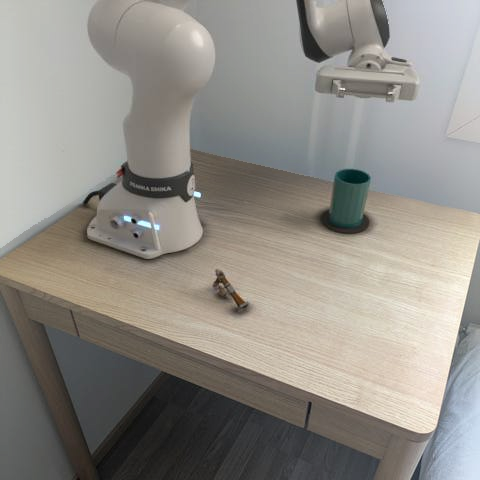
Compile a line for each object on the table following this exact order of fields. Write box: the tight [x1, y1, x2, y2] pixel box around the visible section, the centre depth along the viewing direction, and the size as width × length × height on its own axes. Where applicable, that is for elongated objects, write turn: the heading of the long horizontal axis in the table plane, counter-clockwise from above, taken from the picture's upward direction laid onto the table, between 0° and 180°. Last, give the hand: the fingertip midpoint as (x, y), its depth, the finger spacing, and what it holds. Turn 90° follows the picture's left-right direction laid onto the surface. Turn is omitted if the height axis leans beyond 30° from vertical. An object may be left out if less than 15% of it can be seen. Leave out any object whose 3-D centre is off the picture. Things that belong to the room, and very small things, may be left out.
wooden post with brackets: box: [212, 268, 250, 313], centre depth 81 cm, size 2×8×4 cm, turn 40°
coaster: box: [320, 208, 371, 235], centre depth 102 cm, size 10×10×1 cm
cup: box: [329, 168, 372, 228], centre depth 98 cm, size 7×7×10 cm
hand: (365, 95), depth 94 cm, fingers open, 8 cm apart
